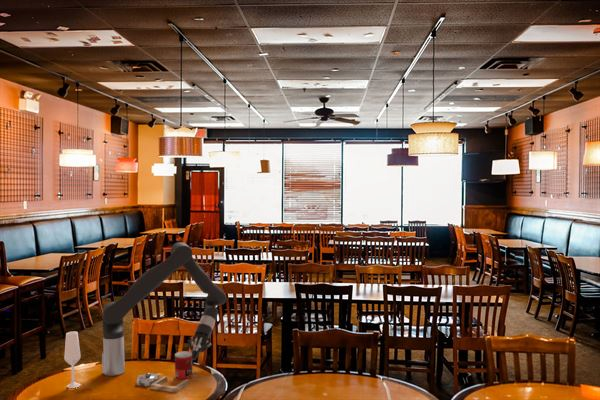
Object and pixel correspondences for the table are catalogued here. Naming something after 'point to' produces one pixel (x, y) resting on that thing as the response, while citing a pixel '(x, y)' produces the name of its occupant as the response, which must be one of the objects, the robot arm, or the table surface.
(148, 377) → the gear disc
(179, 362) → the canned food
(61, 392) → the table surface
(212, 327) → the robot arm
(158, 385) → the cradle
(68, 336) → the champagne flute
